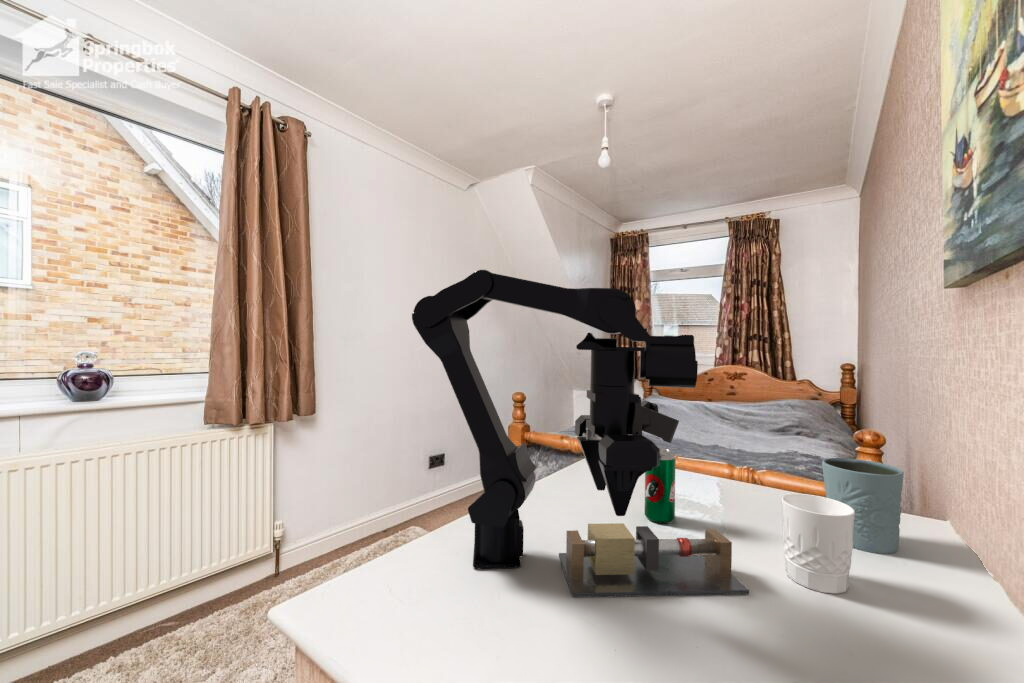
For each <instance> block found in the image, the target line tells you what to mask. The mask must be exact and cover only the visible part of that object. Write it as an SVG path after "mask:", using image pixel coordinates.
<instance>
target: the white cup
mask: <svg viewBox="0 0 1024 683" xmlns="http://www.w3.org/2000/svg"><path fill="white" fill-rule="evenodd" d="M781 516H782V518H781V519H782V520H781V521H782V539H783V552H784V554H785V555H784V561H785V564H784V565H785V572H786V574H787V576H788V577H789V578H790V579H791V581H793V582H795V583H796V584H798V585H800V586H802V587H804V588H807V589H810V590H813V591H816V592H820V593H824V594H832V595H833V594H834V595H835V594H836V595H837V594H838V595H839V594H841V593H842V594H843V593H846V592H847V590H848V589H849V585H850V572H851V571H850V570H851V566H852V556H853V549H854V548H853V533H854V518H855V511H854V509H853V508H852V507H850V506H848V505H846V504H844V503H842V502H839V501H836V500H833V499H829V498H826V496H821V495H813V494H807V493H806V494H805V493H789V494H784V495H782V496H781Z"/></svg>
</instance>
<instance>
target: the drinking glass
mask: <svg viewBox="0 0 1024 683" xmlns="http://www.w3.org/2000/svg"><path fill="white" fill-rule="evenodd" d="M821 463H822V464H821V465H822V474H823V483H824V484H823V485H824V490H825V498H829V499H833V500H836V501H839V502H842V503H844V504H846V505H848V506H850V507H852V508H853V509H854V511H855V518H854V533H853V549H855V550H858V551H863V552H866V553H867V552H868V553H873V554H881V555H890V554H894V553H896V552H898V550H899V546H900V545H899V543H900V530H901V529H900V524H901V514H902V507H901V502H902V490H903V483H904V471H903V470H902V469H901V468H898V467H896V466H894V465H890V464H886V463H883V462H878V461H871V460H866V459H865V460H864V459H858V458H847V457H845V458H844V457H830V458H829V457H828V458H824V459H823V460H822V462H821Z"/></svg>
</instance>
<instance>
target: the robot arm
mask: <svg viewBox="0 0 1024 683" xmlns="http://www.w3.org/2000/svg"><path fill="white" fill-rule="evenodd" d="M492 301H496V302H501V303H506V304H509V305H510V304H511V305H514V306H520V307H522V308H523V307H525V308H529V309H532V310H537V311H542V312H545V313H546V312H547V313H550V314H551V313H552V314H555V315H561V316H565V317H567V318H570V319H572V320H574V321H577V322H579V323H581V324H584V325H586V326H589V327H591V328H594V329H596V330H599V331H600V332H603V333H606V334H609V335H619V334H621V335H622V336H624V337H625V338H626V339H628V340H629V341H631V342H638V343H639V342H643V343H644V346H643V347H642V346H636V347H635V346H619V344H618V338H615V337H614V338H613V337H611V338H605V337H601V338H600V337H596V336H594V334H593V333H592V332H587V334H586V336H585V337H584V338H583V339H582V340H581V341H580V342H579V343H578V344H576V349H577V350H578V351H590V383H589V385H590V388H589V389H586V398H587V399H589V414H581V415H579V417H578V418H576V420H574V434H576V436H577V439H576V440H577V442H578V443H579V446H580V450H581V451H582V453H583V456H584V459H585V462H586V465H587V466H588V469H589V472H590V474H591V477H592V481H593V483H594V484H595V488H596V490H597V491H605V490H606V489H607V493H608V495H609V498H610V502H611V504H612V508H613V511H614V514H615V515H616V516H617V517H625V516H626V514H627V511H628V509H629V506H630V502H631V499H632V497H633V493H634V490H635V487H636V485H637V482H638V480H639V478H640V477H641V476H642V475H645V472H646V471H651V470H652V469H653V468H654V467H657V466H659V465H660V449H659V447H658V446H657V445H656V443H655V442H653V441H652V440H650V439H649V438H647V437H646V436H644V435H643V432H645V433H647V434H650V435H653V436H655V437H657V438H660V439H662V441H664V442H666V443H669V444H672V441H673V438H674V435H675V433H676V430H677V428H678V425H679V423H680V421H679V420H678V419H676V418H673V417H671V416H669V415H667V414H663V413H661V412H659V406H658V404H656V403H654V402H651V401H648V400H646V399H644V400H642V397H641V396H640V394H639V393H635V369H636V368H635V366H636V365H635V364H636V360H635V358H636V352H639V379H644V380H647V383H648V384H647V385H648V387H660V388H682V389H695V388H696V385H697V380H698V368H699V366H698V364H699V363H698V360H697V356H696V355H697V354H696V347H695V336H694V335H693V334H681V335H675V336H673V335H650V333H648V328H647V327H646V328H645V327H644V326H643V325H642V323H641V322H640V321H639V319H638V318H637V316H636V312H637V311H636V310H637V309H636V304H635V301H634V299H633V298H632V296H631V295H630V294H629V293H627V291H624V290H623V289H619V288H615V287H614V288H613V287H611V288H609V287H606V288H605V287H585V288H583V287H581V288H573V287H572V288H567V287H564V286H563V287H562V286H557V285H554V284H553V285H552V284H548V283H543V282H538V281H533V280H528V279H523V278H518V277H513V276H508V275H504V274H499V273H493V272H491V271H489V270H487V269H478V270H475V271H474V272H472V273H471V274H470V275H468V276H467V277H465V278H463V279H462V280H460V281H458V282H456V283H453V284H451V285H449V286H447V287H445V288H443V289H441V290H440V291H438V292H436V294H434V295H427V296H424V297H423V298H421V299H419V301H418V302H417V303H416V304H415V306H414V308H413V311H412V313H411V321H412V324H413V326H414V328H415V330H416V331H417V333H418V335H419V336H420V337H421V339H422V340H423V342H424V343H425V345H426V346H427V347H428V348H429V349H430V350H431V351H432V352H433V353H434V355H436V357H437V358H438V359H439V360H440V362H441V363H442V366H443V368H444V371H445V373H446V376H447V379H448V380H449V383H450V385H451V388H452V390H453V393H454V395H455V398H456V399H457V403H458V404H459V406H460V409H461V412H462V413H463V414H462V415H463V417H464V419H465V421H466V424H467V426H468V429H469V431H470V433H471V436H472V438H473V440H474V443H475V445H476V447H477V449H478V455H479V456H478V457H479V458H478V459H479V476H480V479H481V484H482V488H483V492H482V493H481V494H480V495H479V496H478V497H477V498H476V499H475V500H474V501H473V502H472V503H471V504H470V505H469V506H468V507H467V511H468V515H469V519H470V521H471V524H474V540H473V541H474V544H473V556H472V557H473V558H472V568H474V569H487V568H488V569H494V568H495V569H497V568H499V569H500V568H503V569H504V568H520V567H521V564H522V563H521V557H523V556H524V531H525V530H524V524H523V523H524V522H523V521H522V519H520V514H519V512H520V511H519V509H520V508H521V507H522V505H524V503H525V501H526V500H527V498H528V497H529V496H530V494H531V493H532V491H533V489H534V487H535V485H536V475H535V471H536V470H537V468H538V467H537V465H536V464H535V463H534V462H533V460H532V459H531V457H530V454H529V450H528V447H527V444H526V443H522V444H520V445H519V446H518V447H517V445H516V444H515V443H514V442H513V441H512V440H511V438H509V436H508V435H507V432H506V430H505V428H504V425H503V422H502V421H501V419H500V416H499V414H498V412H497V409H496V406H495V405H494V404H495V403H494V401H493V400H492V397H491V395H490V393H489V391H488V389H487V386H486V384H485V381H484V378H483V376H482V374H481V371H480V369H479V368H478V365H477V362H476V361H475V358H474V355H473V353H472V351H471V345H470V344H471V342H470V338H471V337H470V329H469V325H468V320H470V319H472V318H473V317H475V316H476V315H478V313H479V312H480V311H481V310H483V308H485V307H486V305H488V304H489V303H490V302H492Z"/></svg>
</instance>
